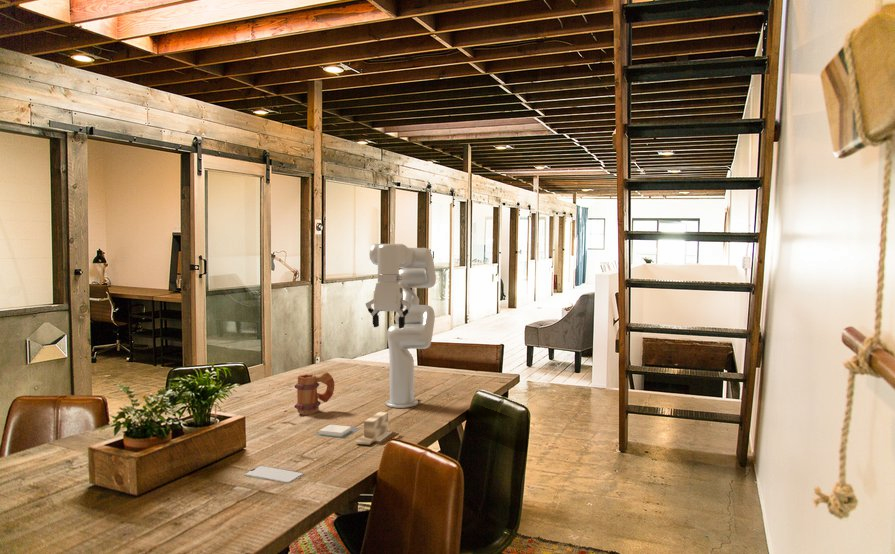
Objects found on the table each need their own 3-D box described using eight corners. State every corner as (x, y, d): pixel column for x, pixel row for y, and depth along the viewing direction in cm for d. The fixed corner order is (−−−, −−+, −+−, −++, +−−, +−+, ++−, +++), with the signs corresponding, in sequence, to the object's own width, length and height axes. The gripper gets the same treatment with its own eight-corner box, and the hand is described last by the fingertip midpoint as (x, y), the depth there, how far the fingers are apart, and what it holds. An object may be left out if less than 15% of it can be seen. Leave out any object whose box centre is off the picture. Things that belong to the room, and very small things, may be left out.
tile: (329, 424, 205) (319, 430, 199) (351, 426, 203) (341, 432, 196) (329, 428, 205) (319, 435, 199) (351, 431, 203) (341, 437, 196)
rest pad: (372, 432, 204) (372, 429, 204) (392, 434, 202) (392, 431, 202) (359, 441, 194) (359, 438, 194) (379, 443, 192) (379, 440, 192)
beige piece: (376, 429, 205) (376, 411, 204) (390, 430, 203) (390, 412, 203) (354, 444, 189) (354, 425, 189) (369, 445, 187) (369, 426, 187)
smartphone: (288, 482, 160) (242, 474, 165) (288, 485, 160) (242, 476, 165) (305, 473, 166) (260, 465, 172) (305, 475, 166) (260, 467, 172)
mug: (294, 417, 222) (294, 376, 221) (294, 411, 229) (293, 372, 229) (335, 414, 225) (335, 374, 225) (333, 409, 233) (333, 370, 233)
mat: (332, 426, 210) (332, 424, 210) (361, 429, 207) (361, 427, 207) (314, 436, 199) (314, 435, 199) (344, 440, 195) (344, 438, 195)
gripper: (415, 279, 217) (415, 327, 218) (370, 278, 222) (370, 325, 223) (407, 280, 210) (407, 329, 210) (361, 279, 215) (361, 327, 216)
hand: (388, 327), depth 217 cm, fingers open, 9 cm apart
